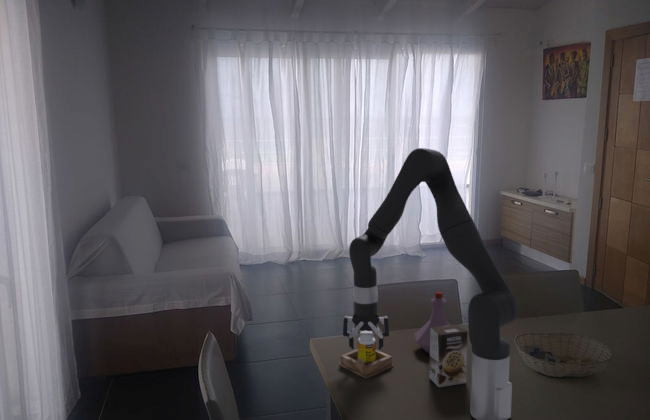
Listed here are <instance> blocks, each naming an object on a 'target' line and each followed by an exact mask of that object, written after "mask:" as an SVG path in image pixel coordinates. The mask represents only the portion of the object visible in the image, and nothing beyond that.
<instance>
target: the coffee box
mask: <svg viewBox="0 0 650 420" xmlns="http://www.w3.org/2000/svg"><path fill="white" fill-rule="evenodd" d="M468 338H469V330H466V328H463V327H462V326H460V325H459V324H450V325H447V326H439V327H431V331H430V353H429V375H428V377H429V379H430V380H431V381H432V382H433V383H434V384H435V386H436V387H438V388H444V387H449V386H456V385H463V384H466V383H467V367H468V365H467V363H468V361H467V359H468V358H467V357H468Z"/></svg>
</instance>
